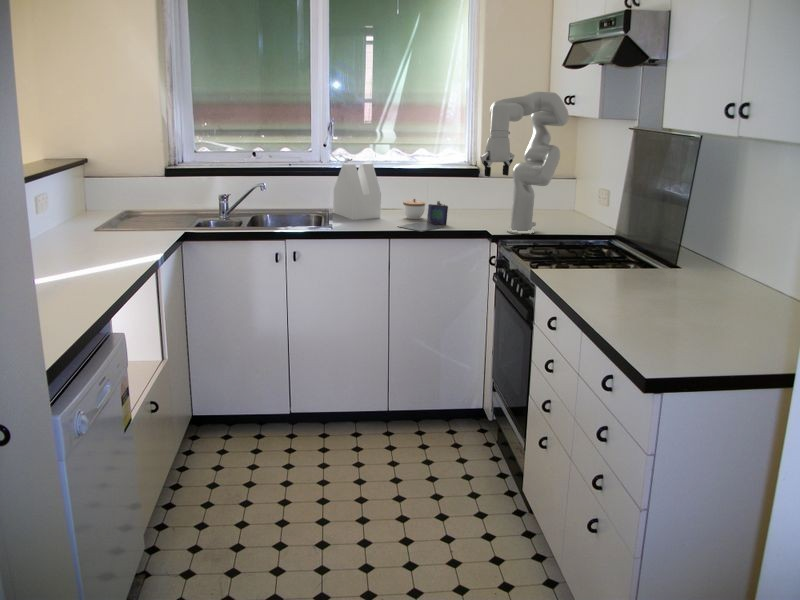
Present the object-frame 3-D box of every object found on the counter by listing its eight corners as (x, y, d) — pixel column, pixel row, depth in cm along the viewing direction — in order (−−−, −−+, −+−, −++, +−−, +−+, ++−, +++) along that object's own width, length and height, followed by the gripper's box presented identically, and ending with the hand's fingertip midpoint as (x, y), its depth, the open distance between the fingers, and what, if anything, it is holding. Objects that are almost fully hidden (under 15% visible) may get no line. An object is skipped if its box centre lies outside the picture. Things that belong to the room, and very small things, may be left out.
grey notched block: (333, 212, 400) (334, 161, 393) (360, 211, 408) (361, 160, 401) (352, 219, 385) (353, 166, 378) (380, 217, 393) (382, 165, 386)
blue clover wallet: (426, 223, 381) (428, 200, 379) (427, 222, 384) (429, 199, 382) (446, 225, 381) (448, 202, 378) (446, 224, 384) (448, 201, 381)
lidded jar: (398, 216, 398) (399, 197, 395) (418, 215, 402) (419, 196, 400) (408, 220, 389) (409, 201, 386) (428, 219, 393) (429, 200, 391)
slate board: (421, 222, 385) (421, 221, 384) (444, 227, 376) (444, 226, 376) (397, 226, 372) (397, 226, 372) (421, 231, 363) (421, 230, 363)
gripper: (509, 133, 345) (506, 173, 350) (477, 134, 336) (474, 175, 341) (521, 134, 339) (518, 176, 344) (488, 135, 330) (485, 178, 335)
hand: (496, 175), depth 343 cm, fingers open, 9 cm apart
